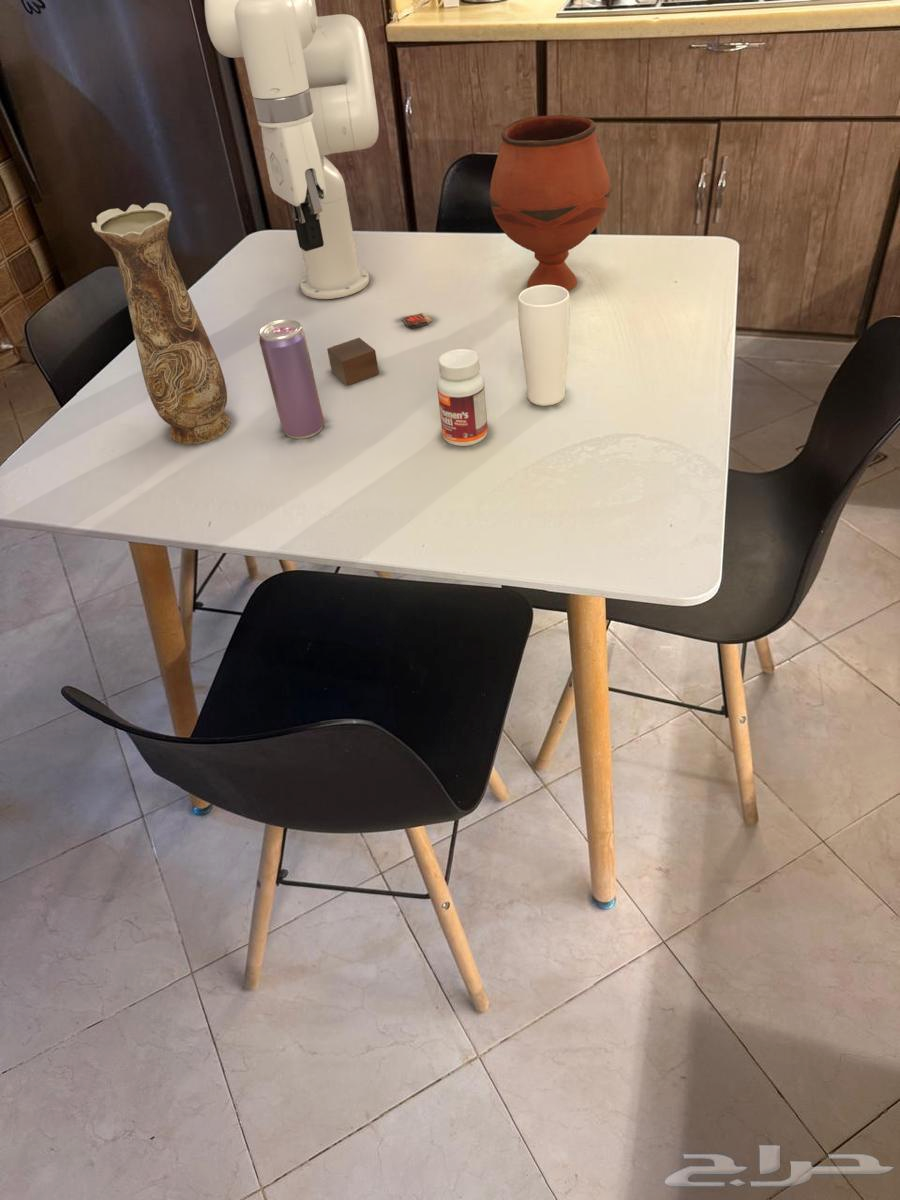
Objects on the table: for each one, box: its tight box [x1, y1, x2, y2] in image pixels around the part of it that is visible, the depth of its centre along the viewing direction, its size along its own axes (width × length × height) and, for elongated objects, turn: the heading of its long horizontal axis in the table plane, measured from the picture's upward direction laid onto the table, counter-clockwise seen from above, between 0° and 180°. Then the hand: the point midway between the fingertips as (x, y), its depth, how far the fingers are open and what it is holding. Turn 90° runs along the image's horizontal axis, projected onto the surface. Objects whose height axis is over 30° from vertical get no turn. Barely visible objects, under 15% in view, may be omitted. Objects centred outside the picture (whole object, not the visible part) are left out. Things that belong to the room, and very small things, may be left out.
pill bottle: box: [436, 348, 488, 447], centre depth 114 cm, size 6×6×11 cm
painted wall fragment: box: [399, 312, 433, 329], centre depth 144 cm, size 5×5×1 cm
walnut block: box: [326, 337, 380, 386], centre depth 132 cm, size 6×6×4 cm
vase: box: [91, 202, 231, 445], centre depth 115 cm, size 10×11×30 cm
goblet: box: [489, 114, 611, 292], centre depth 142 cm, size 19×19×25 cm
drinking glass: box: [517, 285, 571, 407], centre depth 117 cm, size 7×7×15 cm
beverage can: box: [258, 319, 325, 440], centre depth 118 cm, size 6×6×15 cm
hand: (312, 247), depth 127 cm, fingers closed
